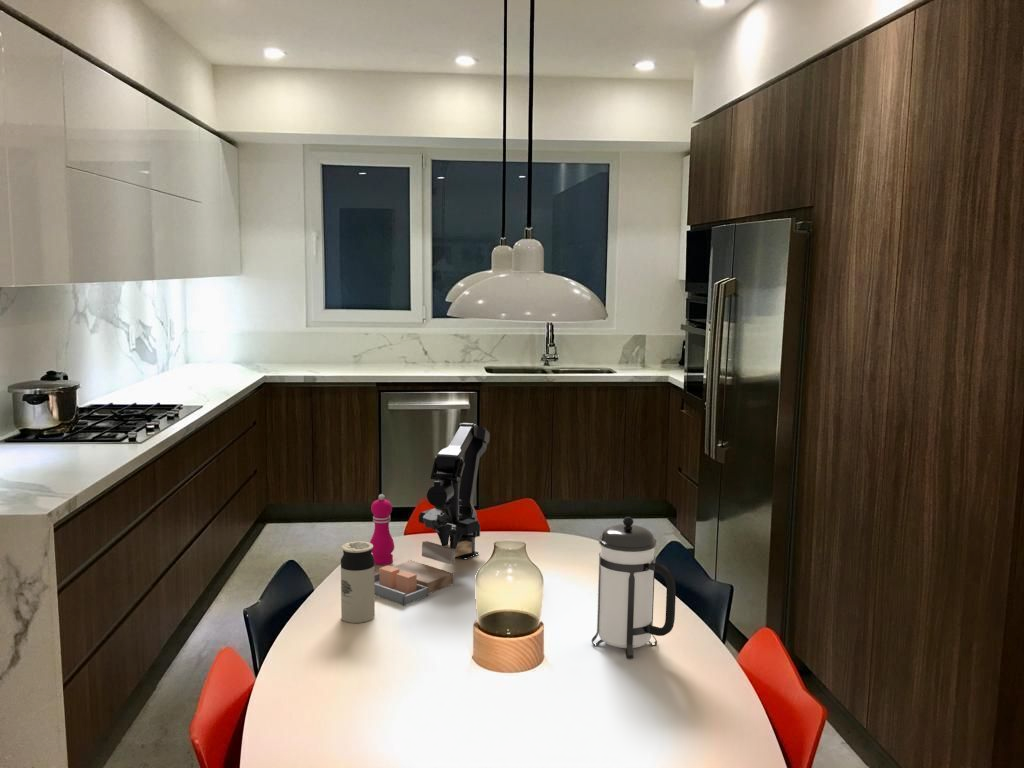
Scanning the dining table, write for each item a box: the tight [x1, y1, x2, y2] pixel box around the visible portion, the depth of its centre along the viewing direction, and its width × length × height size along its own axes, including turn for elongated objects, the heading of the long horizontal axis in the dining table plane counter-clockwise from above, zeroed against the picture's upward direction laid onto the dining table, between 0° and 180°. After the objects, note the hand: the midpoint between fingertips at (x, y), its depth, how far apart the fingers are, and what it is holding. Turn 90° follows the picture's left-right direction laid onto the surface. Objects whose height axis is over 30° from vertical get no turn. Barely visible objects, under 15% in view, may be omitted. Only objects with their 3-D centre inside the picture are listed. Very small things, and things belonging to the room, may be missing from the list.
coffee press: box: [591, 516, 677, 659], centre depth 196 cm, size 17×16×30 cm
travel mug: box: [340, 541, 376, 624], centre depth 210 cm, size 8×8×18 cm
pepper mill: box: [369, 493, 395, 566], centre depth 251 cm, size 7×7×20 cm
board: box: [393, 559, 454, 594], centre depth 236 cm, size 10×16×3 cm, turn 51°
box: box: [374, 572, 430, 607], centre depth 228 cm, size 9×18×3 cm, turn 51°
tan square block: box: [378, 564, 399, 588], centre depth 232 cm, size 4×4×3 cm
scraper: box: [421, 540, 472, 565], centre depth 246 cm, size 14×11×4 cm
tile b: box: [396, 571, 417, 594], centre depth 228 cm, size 4×4×3 cm
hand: (448, 551), depth 245 cm, fingers closed on scraper, 2 cm apart
